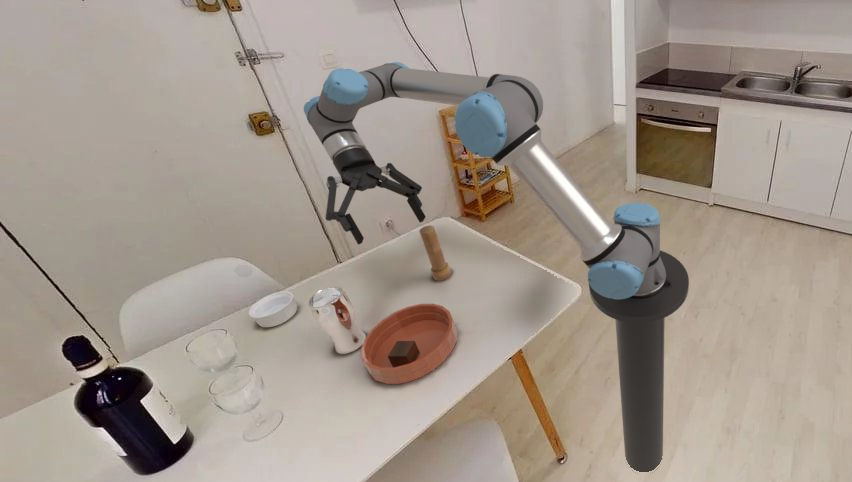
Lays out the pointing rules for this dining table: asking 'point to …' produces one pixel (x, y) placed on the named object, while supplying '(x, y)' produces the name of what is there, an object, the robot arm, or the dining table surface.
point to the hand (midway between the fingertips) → (393, 230)
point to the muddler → (435, 253)
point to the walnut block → (403, 353)
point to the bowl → (410, 324)
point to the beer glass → (337, 318)
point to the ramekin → (274, 309)
